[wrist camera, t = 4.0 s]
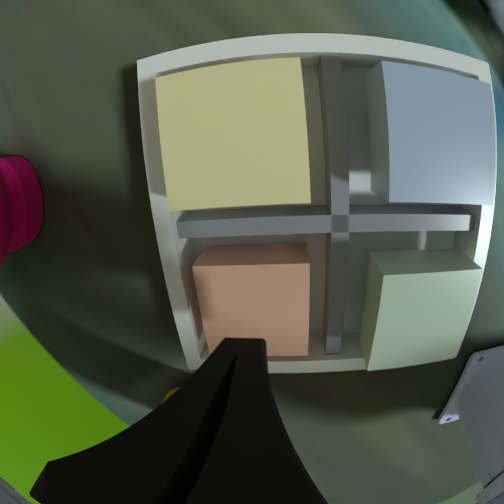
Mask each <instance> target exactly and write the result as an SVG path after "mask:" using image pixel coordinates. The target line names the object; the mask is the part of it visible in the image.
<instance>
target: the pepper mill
mask: <svg viewBox="0 0 504 504" xmlns="http://www.w3.org/2000/svg"><path fill="white" fill-rule="evenodd" d="M42 218H43V199H42V192H41V187H40V184H39V181H38V178H37V175H36V173H35V171H34V169H33V168H32V166H31V165H30V164H29V162H28V161H27V160H25V159H24V158H23V157H21V156H16V155H14V156H8V157H4V158H0V266H1V265H2V263H3V261H4V259H5V257H6V254H7V251H12V252H13V251H16V250H18V249H20V248H21V247H23V246H25V245H27V244H29V243H30V242H32V241H33V240H34V239H35V238H36V236H37V235H38V233H39V230H40V228H41V223H42Z"/></svg>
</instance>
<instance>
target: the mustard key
mask: <svg viewBox="0 0 504 504" xmlns="http://www.w3.org/2000/svg"><path fill="white" fill-rule="evenodd" d="M155 83H156V98H157V111H158V123H159V134H160V143H161V153H162V161H163V170H164V177H165V185H166V192H167V199H168V206H169V211H181V210H193V209H206V208H221V207H237V206H255V205H275V204H301V203H311V194H310V171H309V153H308V137H307V124H306V111H305V100H304V89H303V79H302V70H301V61H300V57H294V58H275V59H262V60H251V61H242V62H234V63H227V64H220V65H214V66H208V67H202V68H197V69H192V70H187V71H182V72H178V73H173V74H169V75H165V76H161V77H157V78H155Z"/></svg>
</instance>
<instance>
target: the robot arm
mask: <svg viewBox="0 0 504 504" xmlns="http://www.w3.org/2000/svg"><path fill="white" fill-rule="evenodd" d="M457 419H460V422H461V424H462V427H463V429H464V432H465V434H466V437H467V440H468V442H469V445H470V448H471V451H472V454H473V456H474V459H475V462H476V465H477V469H478V472H479V475H480V478H481V482H482V485H483V488H484V490H482V491H481V492H479V493H478V494H477V495H476V498H477V503H476V504H504V345H502V346H498V347H494V348H491V349H487V350H483V351H479V352H475V353H473V354H472V355H471V356H470V358H469V360H468V362H467V364H466V367H465V369H464V371H463V373H462V375H461V377H460V379H459V381H458V383H457V385H456V387H455V389H454V391H453V393H452V395H451V397H450V399H449V401H448V403H447V404H446V406H445V408H444V410H443V411H442V413H441V415H440V417H439V418H438V423H439V424H443V423H447V422H451V421H454V420H457ZM30 496H31V497H32V498H34V499H35V500H36V501H38V502H39V503H41V504H328V503H327V501H326V500H325V499H324V497H323V496H322V494H321V493H320V491H319V490H318V488H317V487H316V485H315V484H314V482H313V481H312V479H311V478H310V476H309V474H308V472H307V471H306V469H305V467H304V465H303V464H302V462H301V460H300V458H299V456H298V455H297V453H296V451H295V449H294V447H293V445H292V443H291V440H290V438H289V436H288V434H287V432H286V429H285V427H284V425H283V422H282V420H281V417H280V414H279V412H278V409H277V406H276V403H275V400H274V397H273V393H272V390H271V386H270V382H269V375H268V361H267V346H266V341H265V340H264V339H263V338H228V337H225V338H224V339H223V340H222V341H221V342H220V344H219V345H218V346H217V347H216V348H215V350H214V351H213V352H212V353H211V354H210V356H209V357H208V358H207V359H206V360H205V361H204V363H203V364H202V365H201V366H200V367H199V368H198V369H197V370H196V371H195V372H194V373H193V374H192V376H191V377H190V378H189V379H188V380H187V381H186V382H185V383H184V384H183V385H182V386H181V387H180V388H178V389H177V390H176V391H175V392H174V393H173V394H172V395H171V396H170V397H169V398H168V399H167V400H165V401H164V402H163V403H162V404H161V405H159V406H158V407H157V408H156V409H154V410H153V411H152V412H150V413H149V414H148V415H146V416H145V417H144V418H142V419H141V420H139V421H138V422H136V423H135V424H133V425H132V426H130V427H129V428H127V429H125V430H124V431H122V432H120V433H119V434H117V435H115V436H113V437H111V438H109V439H108V440H105V441H103V442H102V443H100V444H97V445H95V446H93V447H90V448H88V449H86V450H83V451H81V452H78V453H75V454H72V455H69V456H66V457H63V458H60V459H56V460H53V461H49V462H48V463H47V464H46V466H45V467H44V469H43V471H42V472H41V474H40V476H39V477H38V479H37V481H36V482H35V484H34V486H33V488H32V489H31V491H30ZM0 504H32V503H30V502H29V501H28V500H26V499H25V498H24V497H23V496H21V495H20V494H19V493H17V492H16V491H15V489H14V488H13V487H12V486H10V485H9V484H8V483H7V482H6V481H4V480H3V479H2V478H1V477H0Z"/></svg>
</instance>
